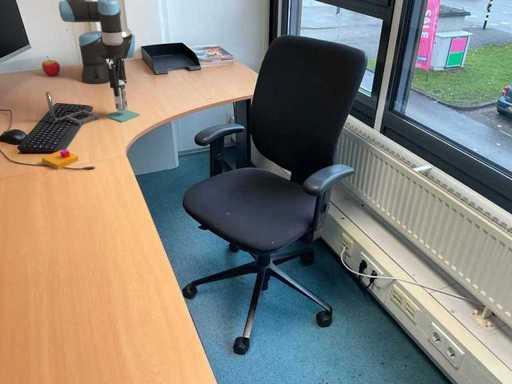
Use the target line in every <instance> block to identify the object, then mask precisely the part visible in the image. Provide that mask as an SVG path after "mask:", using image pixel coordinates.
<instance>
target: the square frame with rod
mask: <svg viewBox="0 0 512 384" xmlns="http://www.w3.org/2000/svg"><path fill="white" fill-rule="evenodd" d="M45 96H46V101H47V105H48V109H49V114H50V115H49V116H50V119H55V120H57V121H58V120H62V121H64V120H63V119H65V120H66V119H69V121H70V122H73V123H76V124H78V126H83V123H84V124H85V123H87V122H89V121H91V120H92V121H93V120H96V121H97V120H99V115H98V114H96V113H93V112H90V111H88V110H84V109H82V110H80V111H76V112H73V113H71V114H68V115H64V116H62V117H57V116H56V113H55V109H54V105H53V100H52V96H51V92H50V91H46V92H45ZM82 114H84V115H83V116H88V117H84V118H82V119H77V118H75V117H78V116H80V115H81V116H82ZM77 115H78V116H77ZM73 116H75V117H73ZM58 118H59V119H58Z"/></svg>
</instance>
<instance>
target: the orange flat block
mask: <svg viewBox="0 0 512 384" xmlns="http://www.w3.org/2000/svg"><path fill="white" fill-rule="evenodd" d="M78 157H79V156H78V155H76V154H74V153H72V152H70V150H69V149H60V150H58V151H56V152H52V153H51V154H49V155H45V156H43V157H41V162H42V164H45V165H47V166H49V167H52V168H54V169H56V170H61V169H62V168H65V167H66V166H69V165H71V164H74V163H76V162H78V161H79V158H78Z"/></svg>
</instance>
